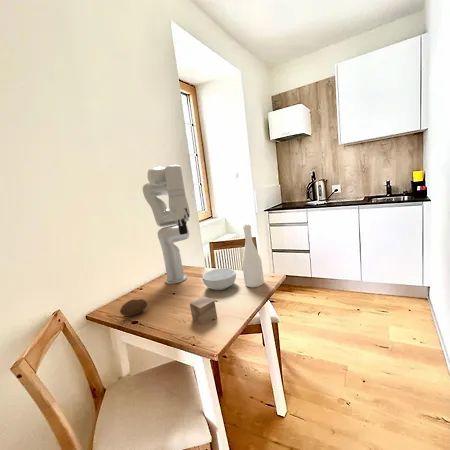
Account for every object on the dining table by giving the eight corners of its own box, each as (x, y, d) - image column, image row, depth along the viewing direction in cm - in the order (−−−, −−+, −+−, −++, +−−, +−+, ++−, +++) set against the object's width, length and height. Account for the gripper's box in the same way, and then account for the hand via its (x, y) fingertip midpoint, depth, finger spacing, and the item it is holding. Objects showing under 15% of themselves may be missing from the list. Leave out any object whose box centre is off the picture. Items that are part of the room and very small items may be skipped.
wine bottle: (262, 279, 132) (255, 222, 127) (265, 286, 123) (258, 225, 118) (244, 281, 132) (236, 224, 127) (246, 289, 123) (237, 228, 118)
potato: (151, 311, 114) (148, 296, 113) (125, 322, 107) (122, 307, 106) (144, 307, 120) (142, 293, 119) (120, 317, 112) (116, 303, 111)
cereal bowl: (223, 296, 118) (221, 282, 117) (197, 291, 129) (195, 278, 128) (243, 282, 132) (241, 269, 130) (218, 278, 142) (216, 266, 141)
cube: (200, 307, 96) (203, 325, 97) (214, 300, 100) (217, 316, 101) (189, 303, 101) (192, 319, 102) (203, 296, 105) (206, 312, 106)
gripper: (161, 196, 117) (168, 235, 120) (178, 193, 106) (185, 236, 109) (175, 193, 122) (181, 231, 125) (193, 191, 111) (199, 232, 114)
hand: (183, 233), depth 117 cm, fingers closed
